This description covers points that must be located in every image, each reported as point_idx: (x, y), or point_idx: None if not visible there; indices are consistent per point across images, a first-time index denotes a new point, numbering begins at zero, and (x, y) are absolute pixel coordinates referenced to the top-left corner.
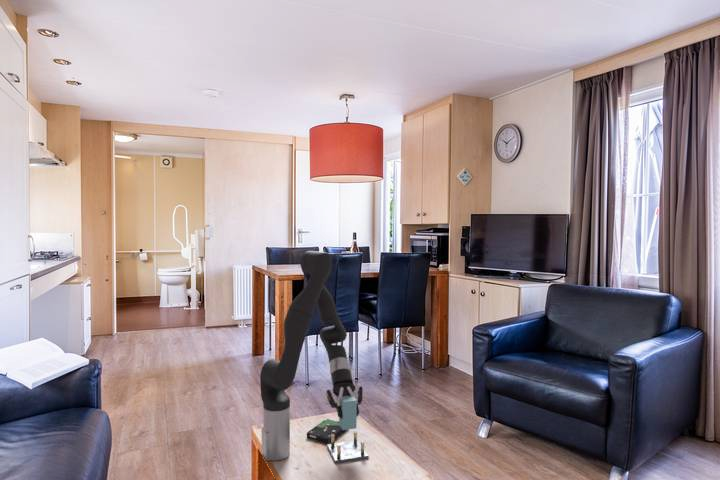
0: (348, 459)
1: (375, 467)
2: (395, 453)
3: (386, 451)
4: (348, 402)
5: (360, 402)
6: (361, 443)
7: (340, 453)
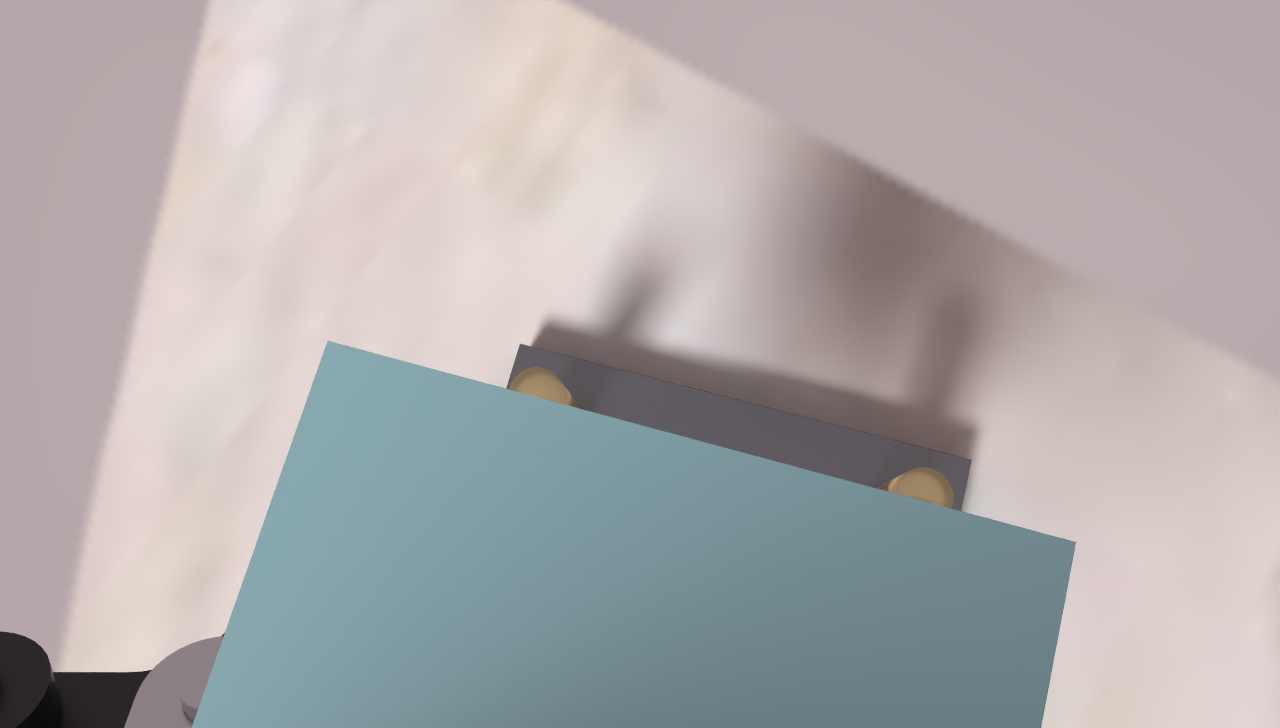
0: (787, 416)
1: (578, 146)
2: (183, 285)
3: (237, 381)
4: (750, 468)
5: (44, 675)
6: (562, 386)
7: (885, 483)
